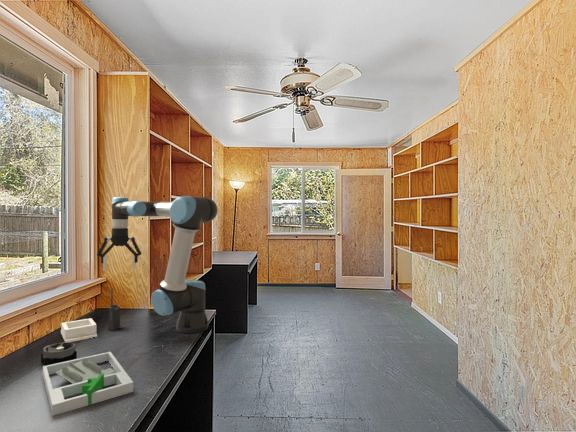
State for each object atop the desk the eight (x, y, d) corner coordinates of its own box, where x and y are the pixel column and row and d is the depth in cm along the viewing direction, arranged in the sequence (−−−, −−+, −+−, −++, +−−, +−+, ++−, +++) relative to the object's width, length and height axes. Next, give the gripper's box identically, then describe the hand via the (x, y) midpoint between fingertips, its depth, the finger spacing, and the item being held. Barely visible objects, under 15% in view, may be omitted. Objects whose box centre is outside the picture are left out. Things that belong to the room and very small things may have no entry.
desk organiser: (133, 391, 108) (133, 382, 108) (52, 415, 95) (52, 405, 95) (110, 359, 131) (110, 351, 131) (42, 375, 118) (42, 366, 118)
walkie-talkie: (113, 330, 163) (114, 288, 162) (107, 330, 163) (108, 288, 163) (120, 327, 167) (121, 286, 167) (114, 327, 168) (115, 285, 168)
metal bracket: (48, 368, 111) (89, 351, 125) (45, 385, 112) (85, 365, 126) (80, 389, 107) (119, 368, 121) (76, 406, 107) (115, 383, 121)
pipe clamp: (91, 387, 110) (92, 374, 110) (103, 386, 111) (103, 373, 111) (77, 405, 100) (77, 390, 100) (90, 404, 100) (91, 389, 100)
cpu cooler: (80, 345, 130) (49, 354, 122) (80, 360, 130) (49, 370, 122) (68, 339, 136) (38, 347, 128) (68, 353, 136) (37, 362, 128)
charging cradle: (97, 337, 154) (97, 325, 154) (65, 343, 147) (65, 331, 147) (90, 327, 167) (90, 317, 167) (60, 332, 159) (60, 321, 159)
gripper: (147, 227, 182) (147, 267, 182) (94, 227, 175) (94, 269, 176) (145, 228, 175) (144, 270, 175) (90, 227, 168) (89, 271, 168)
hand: (119, 269), depth 175 cm, fingers open, 13 cm apart
